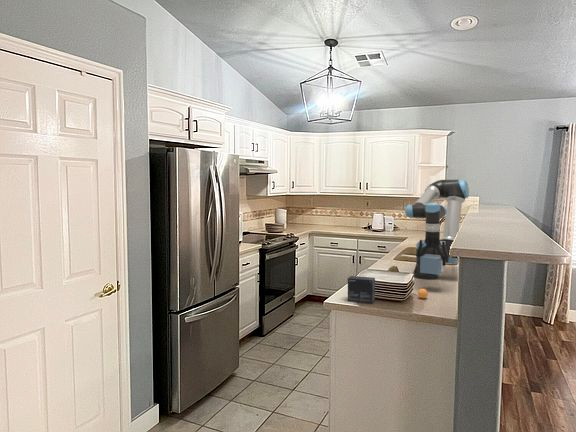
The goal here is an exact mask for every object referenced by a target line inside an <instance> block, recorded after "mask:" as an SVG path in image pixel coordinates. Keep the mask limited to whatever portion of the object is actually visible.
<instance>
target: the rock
mask: <svg viewBox="0 0 576 432" xmlns="http://www.w3.org/2000/svg"><path fill="white" fill-rule="evenodd" d="M387 271H391V272H399V273H400V271H399V267H398V266H397V265H392V266H390V267H388V270H387Z"/></svg>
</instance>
